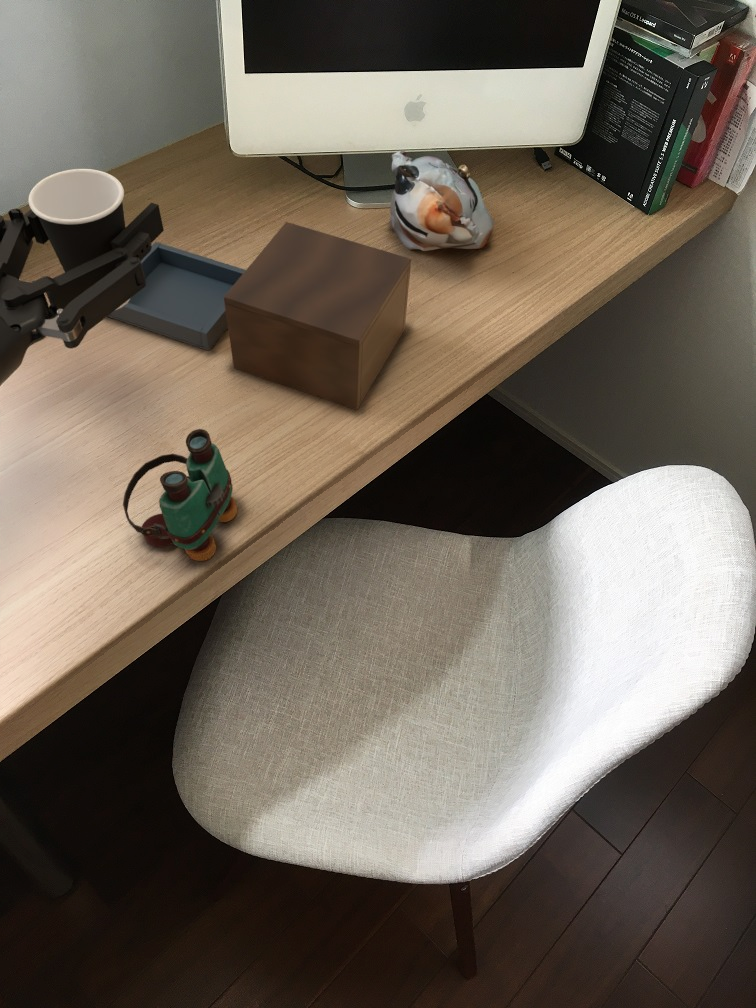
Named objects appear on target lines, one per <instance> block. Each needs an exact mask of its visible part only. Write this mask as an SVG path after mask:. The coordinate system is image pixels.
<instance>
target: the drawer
mask: <svg viewBox="0 0 756 1008" xmlns="http://www.w3.org/2000/svg"><path fill="white" fill-rule="evenodd" d="M151 246H152V248H151V251H150V252H149V253H148V254H147V255H146V256H145V257H144V258H143V259H142V260H141V264H142V268H143V272H144V277H145V281H146V286H145V287H144V288H143V289H142V290H140V291H139V292H138V293H136V294H135V295H134V296H133V297H131V298H130V300H129V302H128V303H127V304H126V305H124V306H123V307H121V308H120V309H117V310H115V311H113V312H112V313H111V314H109V315H108V316H107V317H108V318H111V319H114V320H116V321H120V322H123V323H124V324H125V323H126V324H129V325H132V326H135V327H138V328H141V329H144V330H147V331H149V332H153V333H155V334H159V335H162V336H163V337H167V338H170V339H173V340H176V341H178V342H182V343H185V344H188V345H191V346H194V347H197V348H200V349H202V350H205V351H210V350H211V349H212V348H213V347H214V346H215V344H216V343H217V342H218V340H219V339H220V338H221V337H222V336H223V334H224V333H225V332H226V331H227V330H228V324H227V317H226V310H225V303H224V296H225V295H226V294H227V292H228V291H229V290H230V289H231V288H232V286H233V285H234V284H235V283H236V282H237V280H238V279H239V278H240V277H241V276H242V274H243V273H244V272H245V271H246V270H247V269H244V268H242V267H238V266H234V265H232V264H228V263H225V262H222V261H219V260H216V259H213V258H209V257H206V256H202V255H200V254H197V253H193V252H190V251H187V250H183V249H181V248H177V247H174V246H171V245H167V244H164V243H161V242H158V241H155V242H154V243H153V244H151Z"/></svg>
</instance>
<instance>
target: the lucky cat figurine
mask: <svg viewBox="0 0 756 1008" xmlns="http://www.w3.org/2000/svg"><path fill="white" fill-rule="evenodd" d="M391 160H392V161H391V172H392V174H393V177H394V178H395V181H394V183H395V184H394V190H393V191H392V193H391V198H390V206H389V207H390V208H389V211H390V218H389V225H390V229H391V231H392V232H393V233H394V234H395V235H396V236H397V238H398V239H399V240H400V242H401V244H402V245H403V246H404V247H405V248H406V249H408V250H420V251H422V252H427V251H433V250H440V249H463V250H474V249H478V250H479V249H482V248H484V247H485V246H486V244H487V242H488V239H489V237H490V235H491V234H492V232H493V228H494V223H495V219H494V218H493V217H492V216H491V214H490V212H489V210H488V208H487V207H486V204H485V202H484V199H483V196H482V195H483V194H482V192H481V190H480V188H479V186H478V184H477V182H475V180H473V179H472V178H471V175H472V173H471V169H470V168H469V166H467V165H466V164H461V165H459V166H458V168H457V167H453V166H452V165H450V164H449V163H446V162H444V161H443V160H442V159H440V158H438V157H436V156H432V155H424V156H421V157H417V158H415V159H413V158H411V157H409V156H408V154H407V153H406V151H405V150H398V151H396V152H395V153H392V154H391Z"/></svg>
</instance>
